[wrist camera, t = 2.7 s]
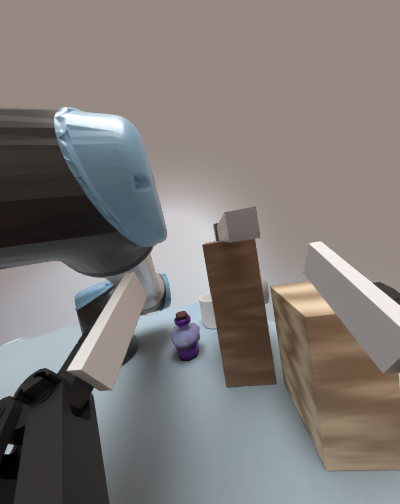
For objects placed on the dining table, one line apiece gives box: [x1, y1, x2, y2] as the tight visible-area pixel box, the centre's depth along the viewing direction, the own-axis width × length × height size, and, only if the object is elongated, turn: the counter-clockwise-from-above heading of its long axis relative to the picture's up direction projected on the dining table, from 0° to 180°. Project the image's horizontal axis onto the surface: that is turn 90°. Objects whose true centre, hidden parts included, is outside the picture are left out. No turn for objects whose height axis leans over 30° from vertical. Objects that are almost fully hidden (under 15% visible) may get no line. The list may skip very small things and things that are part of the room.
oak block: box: [270, 281, 400, 471], centre depth 24 cm, size 12×9×20 cm
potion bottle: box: [169, 311, 200, 361], centre depth 44 cm, size 9×9×12 cm
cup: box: [199, 293, 217, 329], centre depth 57 cm, size 8×12×10 cm
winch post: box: [202, 239, 277, 387], centre depth 38 cm, size 14×13×30 cm
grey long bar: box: [213, 207, 260, 243], centre depth 31 cm, size 26×4×4 cm, turn 177°
